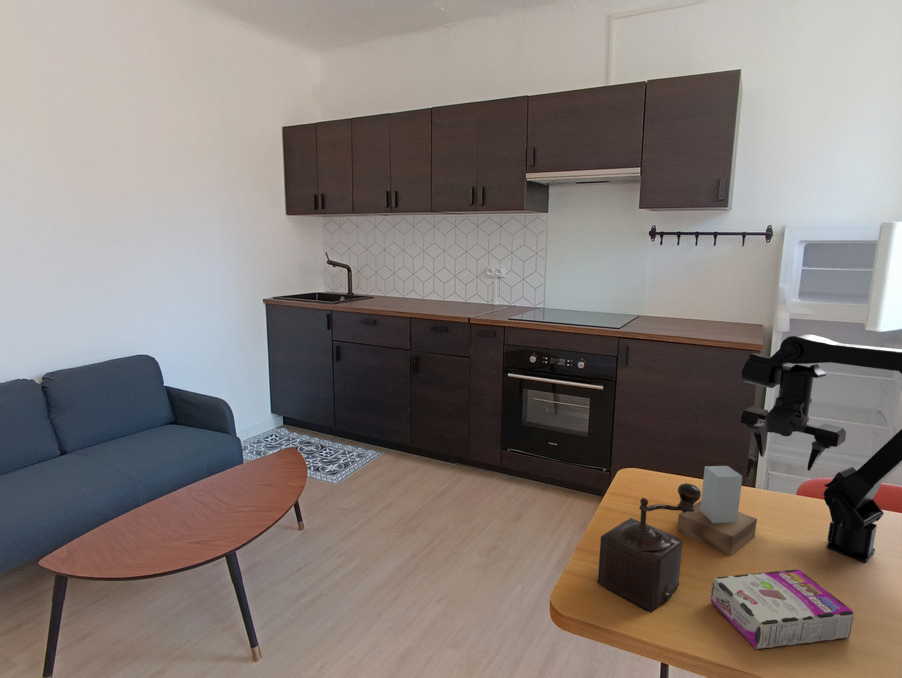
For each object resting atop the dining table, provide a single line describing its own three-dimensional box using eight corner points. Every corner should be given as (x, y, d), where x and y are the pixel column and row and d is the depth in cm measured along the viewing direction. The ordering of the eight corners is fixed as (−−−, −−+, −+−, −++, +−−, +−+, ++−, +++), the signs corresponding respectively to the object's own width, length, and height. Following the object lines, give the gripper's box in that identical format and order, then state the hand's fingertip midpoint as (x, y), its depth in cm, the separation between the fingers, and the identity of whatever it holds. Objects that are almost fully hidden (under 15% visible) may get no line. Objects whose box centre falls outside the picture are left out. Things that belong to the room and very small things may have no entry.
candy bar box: (795, 594, 94) (708, 601, 91) (799, 568, 93) (712, 575, 90) (851, 641, 83) (754, 651, 80) (856, 612, 82) (759, 621, 80)
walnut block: (754, 536, 112) (757, 518, 111) (731, 555, 105) (733, 536, 104) (702, 515, 120) (704, 498, 119) (677, 531, 113) (678, 514, 112)
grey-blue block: (722, 510, 114) (727, 465, 113) (736, 522, 110) (742, 476, 108) (700, 510, 114) (704, 466, 112) (713, 523, 109) (718, 476, 107)
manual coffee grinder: (654, 616, 88) (663, 514, 84) (595, 583, 96) (602, 489, 93) (696, 577, 98) (706, 485, 95) (640, 551, 106) (648, 465, 103)
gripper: (732, 389, 116) (724, 458, 119) (833, 412, 102) (822, 489, 105) (754, 381, 123) (745, 446, 126) (852, 401, 109) (840, 474, 112)
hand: (785, 463), depth 117 cm, fingers open, 9 cm apart
